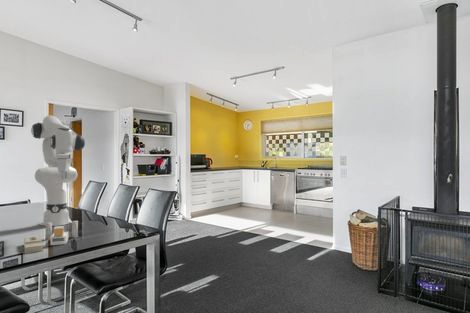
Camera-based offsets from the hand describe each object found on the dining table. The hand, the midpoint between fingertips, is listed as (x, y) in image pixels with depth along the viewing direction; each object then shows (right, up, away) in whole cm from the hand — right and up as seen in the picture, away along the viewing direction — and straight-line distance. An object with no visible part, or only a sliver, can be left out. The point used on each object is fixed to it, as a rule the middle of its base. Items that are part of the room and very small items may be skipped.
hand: (64, 179), depth 178 cm
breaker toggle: (+7, -29, -17) cm, 34 cm away
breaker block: (+5, -33, -13) cm, 36 cm away
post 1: (-4, -33, -8) cm, 34 cm away
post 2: (+8, -33, -3) cm, 34 cm away
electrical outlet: (-2, -34, -24) cm, 41 cm away
